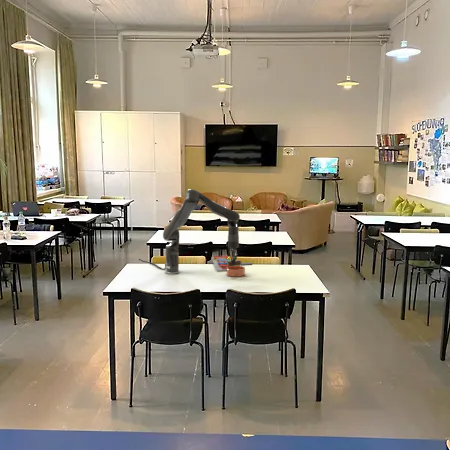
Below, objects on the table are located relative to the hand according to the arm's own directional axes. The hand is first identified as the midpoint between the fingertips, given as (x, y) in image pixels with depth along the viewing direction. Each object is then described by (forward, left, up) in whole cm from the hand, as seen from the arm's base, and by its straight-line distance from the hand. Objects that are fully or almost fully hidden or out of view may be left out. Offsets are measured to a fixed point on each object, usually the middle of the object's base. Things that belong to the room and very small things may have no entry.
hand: (233, 264), depth 311 cm
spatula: (0, +5, 0) cm, 5 cm away
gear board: (-46, +6, -11) cm, 48 cm away
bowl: (-12, +5, -10) cm, 17 cm away
